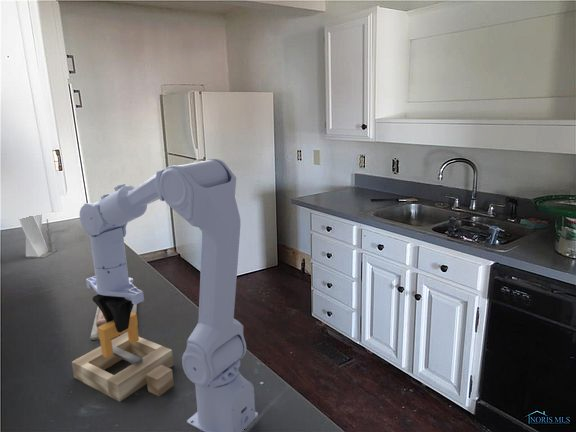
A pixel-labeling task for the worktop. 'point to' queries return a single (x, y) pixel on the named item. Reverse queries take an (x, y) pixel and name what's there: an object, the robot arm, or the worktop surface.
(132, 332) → the wooden block
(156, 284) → the worktop surface
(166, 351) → the birch drawer
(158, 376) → the wooden cube
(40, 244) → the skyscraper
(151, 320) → the worktop surface
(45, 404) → the worktop surface
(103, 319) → the packaged product
